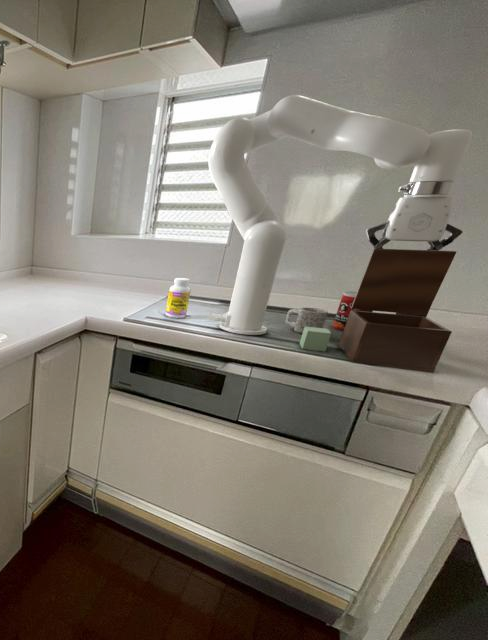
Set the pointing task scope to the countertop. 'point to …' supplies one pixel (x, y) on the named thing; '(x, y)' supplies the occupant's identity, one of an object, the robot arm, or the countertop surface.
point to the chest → (394, 340)
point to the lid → (402, 280)
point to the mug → (307, 318)
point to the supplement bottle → (178, 298)
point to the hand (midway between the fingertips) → (399, 264)
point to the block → (315, 338)
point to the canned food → (345, 310)
